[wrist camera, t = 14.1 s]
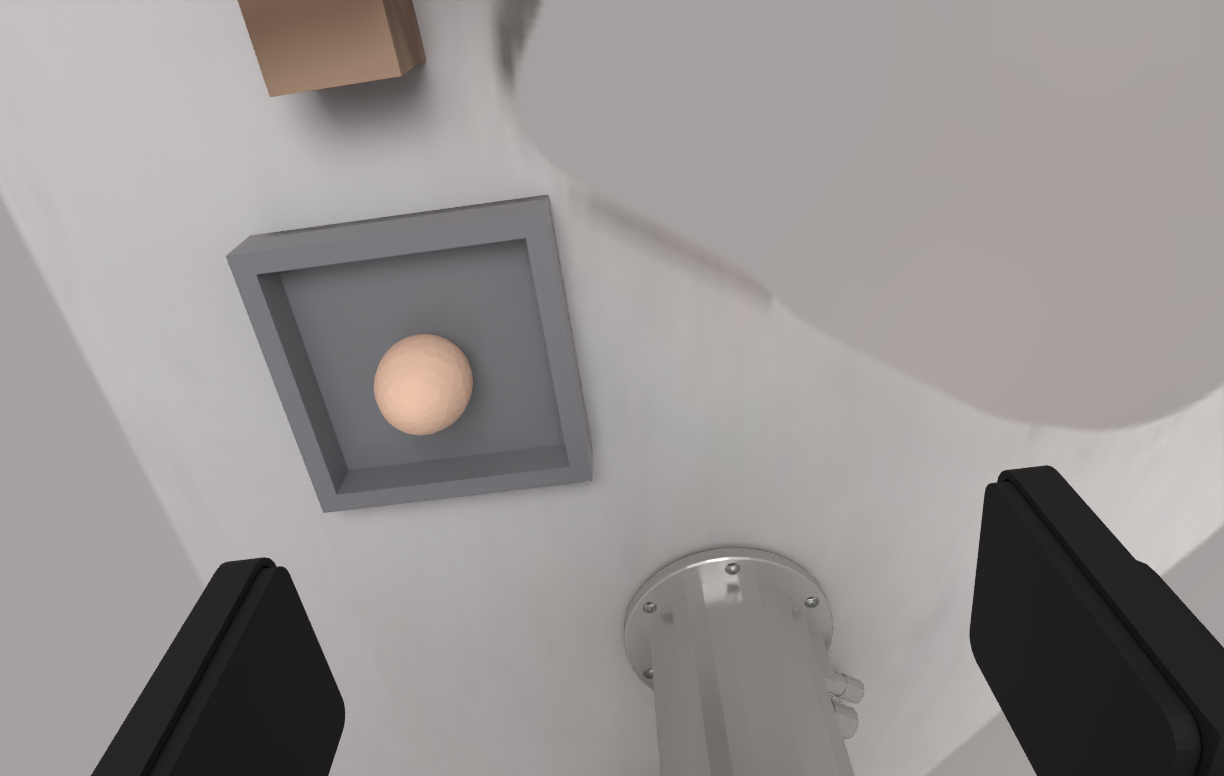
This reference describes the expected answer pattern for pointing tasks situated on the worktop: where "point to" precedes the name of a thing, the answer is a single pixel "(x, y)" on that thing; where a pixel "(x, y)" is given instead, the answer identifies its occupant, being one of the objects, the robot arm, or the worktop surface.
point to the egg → (423, 384)
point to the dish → (409, 305)
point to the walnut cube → (331, 41)
